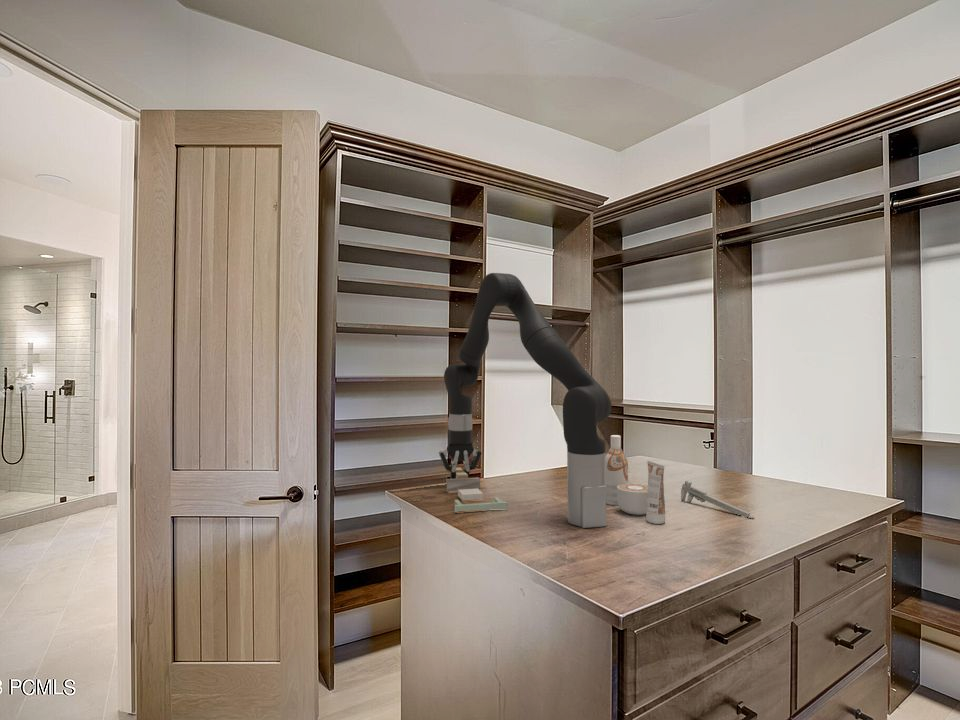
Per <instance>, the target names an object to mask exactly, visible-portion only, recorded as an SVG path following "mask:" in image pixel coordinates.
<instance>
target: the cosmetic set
mask: <svg viewBox="0 0 960 720" xmlns="http://www.w3.org/2000/svg"><path fill="white" fill-rule="evenodd" d="M621 438H622V436H621V435H619V434H612V435H610V448H609V449H608V451H607V452H606V453H605V458H606V464H605V475H606V505H610V506H618V507H619V509H620V510H622V511H623V512H624V513H626V514H629V515H634V516H643V515H645V518H646V521H647V522H648V523H650V524H654V525H664V524H665V522H666V504H665V503H666V501H665V486H664V473H665V465H662V464H659V463H657V462H654V461H653V462H652V461H649V460H647V468H648V469H647V470H648V471H647V472H648V473H647V475H648V477H647V478H648V479H647V480H648V481H647V484H642V483H629V463H628V459H627V456H626V454H625V452H624V450H623V449H622V448H621V447H622V440H621Z"/></svg>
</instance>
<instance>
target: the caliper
mask: <svg viewBox="0 0 960 720" xmlns="http://www.w3.org/2000/svg"><path fill="white" fill-rule="evenodd" d="M692 484H693V483H692V482H689V480H685V482H684V483H682V485H681V489H680V499H681V502H683V503H684V502H685V501H686V504H690V503H691V502H692V501H693V500H694V499H695V500H696V501H699V502H701V503H705V502H707V503H710V504H712V505H714V506H717V507H719V508H721V509H724V510H725V511H729V513H732V514H735V515H736V514H737V515H736V516H739V515H741V516H744V517H748V518H747V519H750V518H755V517H754V516H753V515H751V512H748V511H746V510H743V509H741V508H740V507H737V506H734V505H732V504H730V503H727V502H725V501H723V500H721V499H718V498H716V497H714V496H711V495H709V494H708V493H707V492H706V491H704V490H701V489H699V488H697V487H695V486H692ZM686 497H687V499H686ZM741 516H740V517H741ZM744 517H743V518H744Z"/></svg>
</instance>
